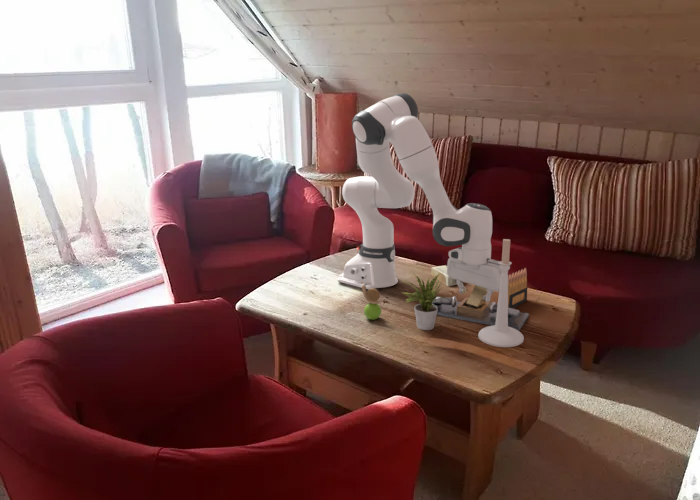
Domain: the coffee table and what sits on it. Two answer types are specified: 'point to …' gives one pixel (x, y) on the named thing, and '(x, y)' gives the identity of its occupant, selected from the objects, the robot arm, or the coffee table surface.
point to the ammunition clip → (517, 288)
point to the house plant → (425, 303)
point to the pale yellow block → (477, 297)
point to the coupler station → (478, 314)
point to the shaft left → (445, 301)
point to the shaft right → (511, 312)
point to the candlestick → (502, 311)
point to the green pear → (371, 303)
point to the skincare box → (443, 275)
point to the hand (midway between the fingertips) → (474, 296)
